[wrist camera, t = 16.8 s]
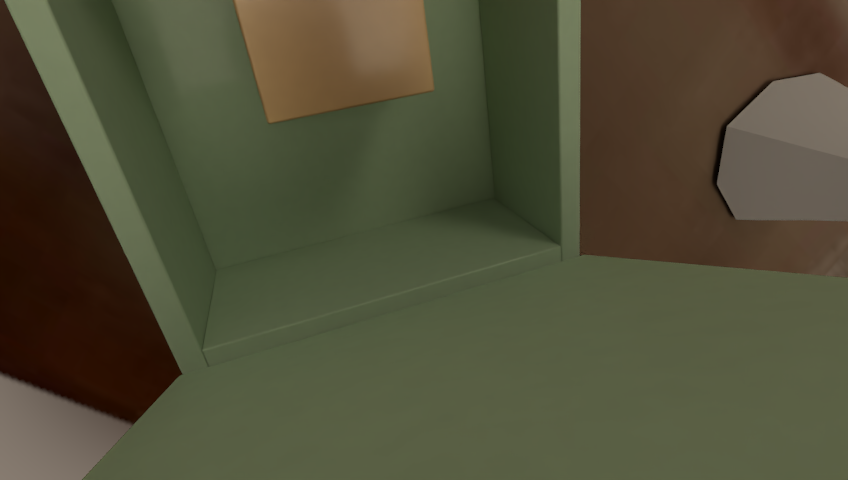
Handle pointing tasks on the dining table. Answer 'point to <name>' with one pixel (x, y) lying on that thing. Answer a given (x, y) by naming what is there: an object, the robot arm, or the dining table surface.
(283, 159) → the file box
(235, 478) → the lid
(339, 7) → the block
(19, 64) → the dining table surface
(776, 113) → the flask
